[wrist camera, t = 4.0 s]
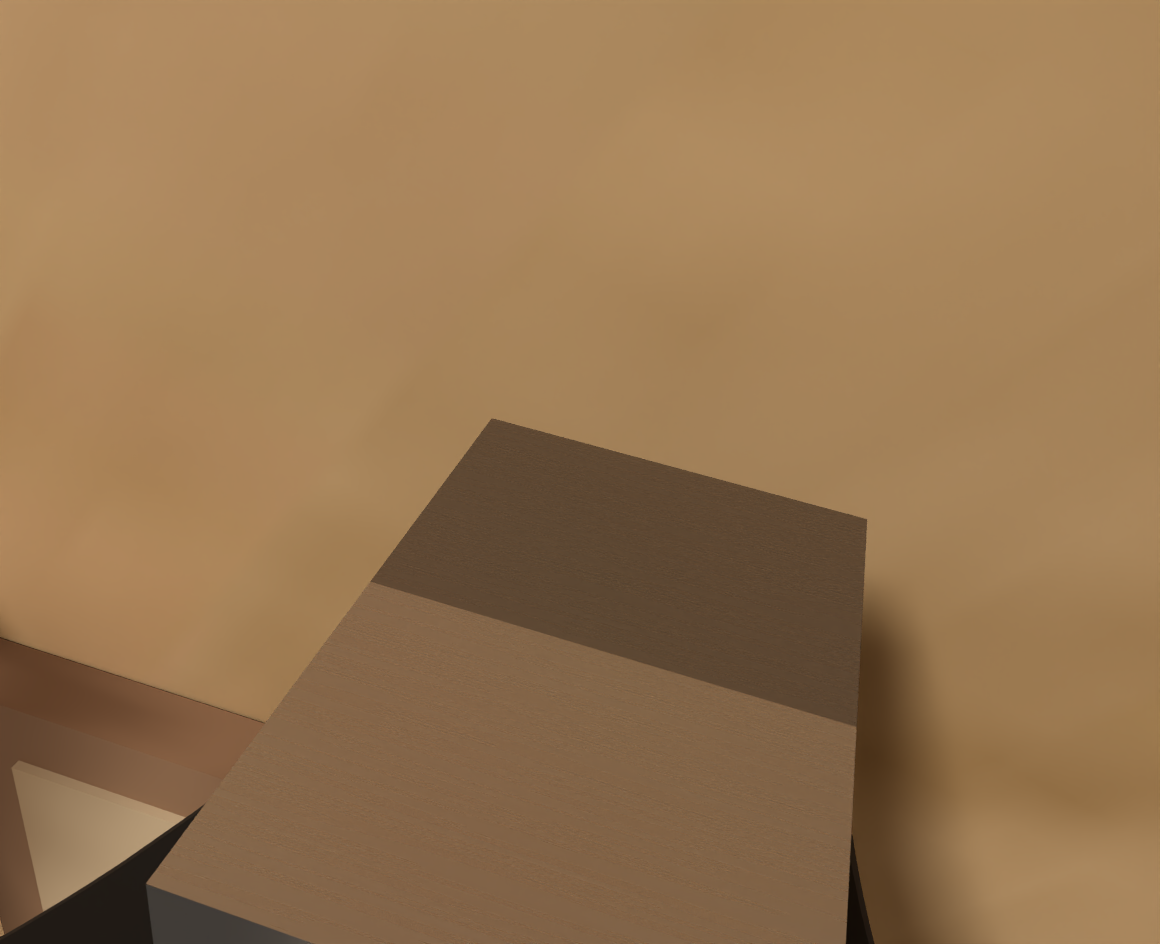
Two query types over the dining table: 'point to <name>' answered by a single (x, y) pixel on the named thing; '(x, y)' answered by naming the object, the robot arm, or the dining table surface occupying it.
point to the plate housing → (556, 726)
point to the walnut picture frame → (95, 772)
